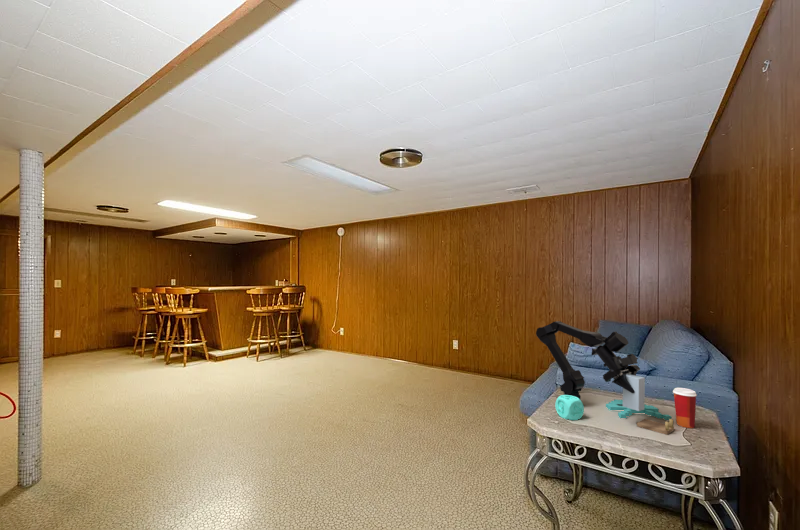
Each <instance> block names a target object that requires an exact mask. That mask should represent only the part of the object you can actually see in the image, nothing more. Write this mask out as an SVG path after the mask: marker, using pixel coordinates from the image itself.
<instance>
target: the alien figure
mask: <svg viewBox="0 0 800 530" xmlns="http://www.w3.org/2000/svg"><path fill="white" fill-rule="evenodd" d="M606 407H607V408H608V409H607V408H606ZM605 408H606V409H607V410H609V409H610V410H624V411H617V417H618V416H619V417H618V418H620V419H621V418H626V419H627V417H626V416H629V417H630V416H633V414H632V413H645V414H644V415H646V414H647V415H651V416H650V417H654V416H655V418H656V417H657V418H656V419H663V418H664V419H665V420H664V419H663V420H664V421H666V420H669V419H673V416H671V415H670V414H663V413H661V412H660V410H659V408H658V407H656V406H654V405H651V404H650V405H648V404H646V403H644V410H641V411H636V410H633V409H630V408H627V407H624V406H623V399H613V400H610V401H608V403H605ZM610 410H609V411H610ZM629 414H630V415H629ZM647 415H646V416H647Z"/></svg>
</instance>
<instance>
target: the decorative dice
mask: <svg viewBox="0 0 800 530" xmlns="http://www.w3.org/2000/svg"><path fill="white" fill-rule="evenodd" d="M554 405H555V406H554V407H555V410H556V412H557V414H558V416H559V417H560V418H562V419H564V418H565V420H568V419H569V420H568V421H578V419H579V420H580V419H581V418H582V417H583V415H584V412H585V407H584V403H583V401H582V400H580V399H579V398H578V397H575V396H571V395H564V394H561V395H559V396H558V397H557V398H556V400H555V403H554Z"/></svg>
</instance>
